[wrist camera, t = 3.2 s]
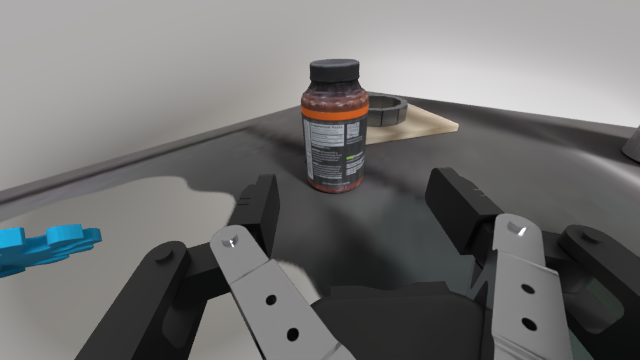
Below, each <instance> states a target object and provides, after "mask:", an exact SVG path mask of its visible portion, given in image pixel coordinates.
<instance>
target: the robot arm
mask: <svg viewBox="0 0 640 360" xmlns="http://www.w3.org/2000/svg"><path fill="white" fill-rule="evenodd" d="M622 151H623V153H624V154H626V155H627V156H628V157H630V158H632V159H634V160H636V161H638V162H640V126H639V127H638V128H637V129H636V131H635V132H634V133H633V135H632V136H631V137H630V139H629V140H628V141H627V142H626V144H625V145H624V146H623V148H622ZM425 200H426V203H427V205H428V207H429V208H430V210H431V211H432V213H433V214H434V216H435V217H436V219H437V220H438V222H439V223H440V225H441V226H442V228H443V229H444V231H445V232H446V234H447V235H448V237H449V238H450V240H451V241H452V243H453V244H454V246H455V247H456V249H457V250H458V252H459V253H460V255H473V256H474V257H475V258H474V260H473V262H472V267H471V272H470V277H469V282H468V288H467V293H466V296H463V295H461V294H458V293H455V292H451V291H449V289H448V287H447V285H446V283H445V281H441V282H418V283H414V284H411V285H407V286H404V287H401V288H398V289H395V290H392V291H385V290H380V289H375V288H370V287H365V286H360V285H348V286H330V295H329V296H326V297H323V298H321V299H319V300H317V301H316V302H314V303H313V304H311V305H309V304H308V302H307V301H306V300H305V299H304V297H303V296H302V295H301V293H300V292H299V291H298V289H297V288H296V287H295V285H294V284H293V283H292V281H291V280H290V279H289V278H288V276H287V275H286V274H285V272H284V271H283V270H282V269H281V267H280V266H279V264H278V263H277V262H276V261H275V260H274V259H273V258H271V259H270V257H271V252H272V247H273V241H274V236H275V231H276V226H277V221H278V215H279V210H280V199H279V193H278V187H277V181H276V176H275V174H267V175H259V177H258V180H257V183H256V185H249V186H248V187H247V188H246V189H245V190H244V191H243V192H242V194H241V196H240V200H239V201H238V203H237V206H236V207H235V210H234V212H233V214H232V216H231V219H230V221H229V223H228V225H227V227H225V228H222V229H221V230H219V231H218V232H216V233H215V234H214V235H213V237H212V239H211V240H210V242H208V243H205V244H201V245H198V246H194V247H191V248H186V246H185V244H184V243H182V242H180V241H171V242H166V243H163V244H161V245H159V246H157V247H155V248H154V249H152V250H151V251H150V252H149V253H148V254H147V255H146V256H145V257H144V258H143V260H142V261H141V263H140V265H139V266H138V267H137V269H136V270H135V271H134V273H133V274H132V276H131V277H130V279H129V280H128V282H127V283H126V285H125V286H124V288H123V289H122V290H121V292H120V293H119V295H118V296H117V298H116V299H115V301H114V302H113V304H112V305H111V307H110V308H109V310H108V311H107V313H106V314H105V315H104V317H103V318H102V320H101V321H100V323H99V324H98V326H97V327H96V329H95V330H94V331H93V333H92V334H91V336H90V337H89V339H88V340H87V342H86V344H85V345H84V346H83V348H82V349H81V351H80V352H79V354H78V355H77V356H76V358H75V359H74V360H188V357H189V354H190V351H191V348H192V344H193V342H194V339H195V336H196V333H197V330H198V327H199V324H200V321H201V318H202V315H203V312H204V309H205V306H206V303H207V300H209V299H212V298H215V297H217V296H220V295H223V294H226V293H228V292H231V294H232V296H233V298H234V300H235V302H236V304H237V306H238V308H239V310H240V313H241V315H242V317H243V319H244V321H245V323H246V325H247V327H248V329H249V331H250V333H251V336H252V338H253V340H254V342H255V344H256V346H257V348H258V350H259V352H260V354H261V357H262V359H263V360H573V356H572V350H571V344H570V338H569V332H568V328H569V329H570V330H571V331H572V332H573V334H574V335H575V336H576V337H577V339H578V340H579V341H580V342H581V344H582V345H583V346H584V347H585V349H586V350H587V351H588V352H589V353H590V355H591V356H592V357H593V358H594V360H640V258H639V257H638V256H636V255H635V254H634V253H632V252H631V251H630V250H628V249H627V248H625V247H624V246H623V245H621V244H620V243H619V242H617V241H616V240H614V239H613V238H612V237H610V236H608V235H607V234H605V233H603V232H601V231H598V230H596V229H593V228H590V227H587V226H582V225H569V226H567V227H566V229H565V230H564V231H563V233H562V234H557V233H551V232H545V231H541V230H540V229H539V228H538V227H537V226H536V225H535V224H534V223H532V222H531V221H529V220H527V219H525V218H523V217H520V216H517V215H513V214H505V213H504V212H503V211H502V210H501V209H500V208H499V207H498V206H497V205H495V204H494V203H493V202H492V201H491V200H490V199H489V198H488V197H487V196H485V195H484V193H483V192H482V191H481V190H479V189H478V188H477V187H476V186H475V185H474V184H473V183H472V182H471V181H469V180H467V179H465V178H463V177H460V176H459V175H458V174H457V173H456V172H455V171H454V170H453V169H452V168H450V167H445V168H434V169H433V170H432V171H431V175H430V178H429V182H428V185H427V189H426V193H425ZM594 278H596V279H597V280H598V281H599V282H600V283H601V284H602V285H604V286H605V287H606V288H607V289H608V290H609V291H610V292H611V293H612V294H613V295H614V296H615V297H617V298H618V299H619V301H620V302H621V303H622V305H623V307H624V315H623V317H622V318H620V319H619V320H618V319H617V318H616V317H615V316H614V315H613V314H612V313H611V312H610V311H609V310H608V309H607V308H606V307H605V306H604V305H603V304H602V303H601V302H600V301H599V300H598V299H597V298H596V297H595V296H594V295H593V294H592V293H591V292H590V291H589V290H588V289H587V288H586V286H587V285H588V284H589V283H590V282H591V281H592V280H593V279H594Z"/></svg>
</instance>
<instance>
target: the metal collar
mask: <svg viewBox="0 0 640 360" xmlns="http://www.w3.org/2000/svg"><path fill="white" fill-rule="evenodd" d="M368 97H369V107H368V120H367V127H386V126H394V125H398V124H400V123H402V122H403V121H405V118H406V113H407V107H408V103H407V100H405V99H402V98H400V97H396V96H390V95H378V94H370V95H369V94H368Z"/></svg>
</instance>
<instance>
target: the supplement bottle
mask: <svg viewBox="0 0 640 360" xmlns="http://www.w3.org/2000/svg"><path fill="white" fill-rule="evenodd" d="M358 78H359V61H357V60H354V59H326V60H318V61H314V62H311V63H310V80H311V84H310V86H309V87H308V89H307V90H306V91H305V92H304V93H303V95H302V98H301V108H302V121H303V133H304V144H305V157H306V160H305V162H306V168H307V177H308V181H309V183H310V184H311V185H312V186H313V187H315V188H316V189H318V190H320V191H323V192H328V193H341V192H347V191H350V190H352V189H354V188H356V187H357V186H358V185H359V184H360V183H361V181H362V179H363V172H364V160H365V146H366V134H367V120H368V107H369V97H368V94H367V92H366V91H365V90H364V89H363V88H361V86H360V84H359V82H358Z"/></svg>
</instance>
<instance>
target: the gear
mask: <svg viewBox="0 0 640 360" xmlns="http://www.w3.org/2000/svg"><path fill="white" fill-rule="evenodd" d="M100 241H102V238H101V233H100V229H97V228H88V229H83V230H82V227H81V224H77V225H63V226H56V227H52V228H49V229H47V230H46V235H43V236H39V237H34V238H27V239H25V233H24V228H20V227H18V228H11V229H4V230H0V278H3V277H7V276H10V275H13V274H17V273H20V272H23V271H25V267H30V266H35V265H42V264H50V263H54V262H58V261H61V260H64V259H66V258H68V257H69V254H73V253H78V252H83V251H87V250H90V249H92V248H93V244H94V243H97V242H100Z"/></svg>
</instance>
